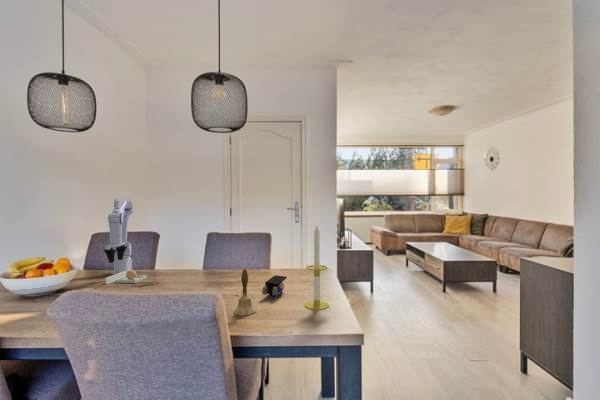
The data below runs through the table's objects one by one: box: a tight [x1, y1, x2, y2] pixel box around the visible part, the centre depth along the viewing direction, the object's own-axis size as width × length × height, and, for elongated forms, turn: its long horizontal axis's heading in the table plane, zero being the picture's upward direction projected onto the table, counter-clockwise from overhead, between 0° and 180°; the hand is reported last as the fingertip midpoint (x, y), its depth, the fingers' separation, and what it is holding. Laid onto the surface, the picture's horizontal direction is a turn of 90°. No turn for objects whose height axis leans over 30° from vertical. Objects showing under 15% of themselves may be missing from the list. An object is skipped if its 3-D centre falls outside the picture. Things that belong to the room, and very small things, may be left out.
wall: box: [104, 271, 126, 285], centre depth 171 cm, size 16×1×3 cm, turn 176°
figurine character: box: [261, 275, 287, 300], centre depth 144 cm, size 7×8×15 cm
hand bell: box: [233, 268, 257, 317], centre depth 123 cm, size 8×8×16 cm
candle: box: [304, 225, 330, 311], centre depth 130 cm, size 10×10×32 cm
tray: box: [115, 274, 148, 284], centre depth 171 cm, size 11×11×1 cm
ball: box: [126, 269, 137, 280], centre depth 171 cm, size 5×5×5 cm
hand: (115, 261), depth 173 cm, fingers open, 7 cm apart
